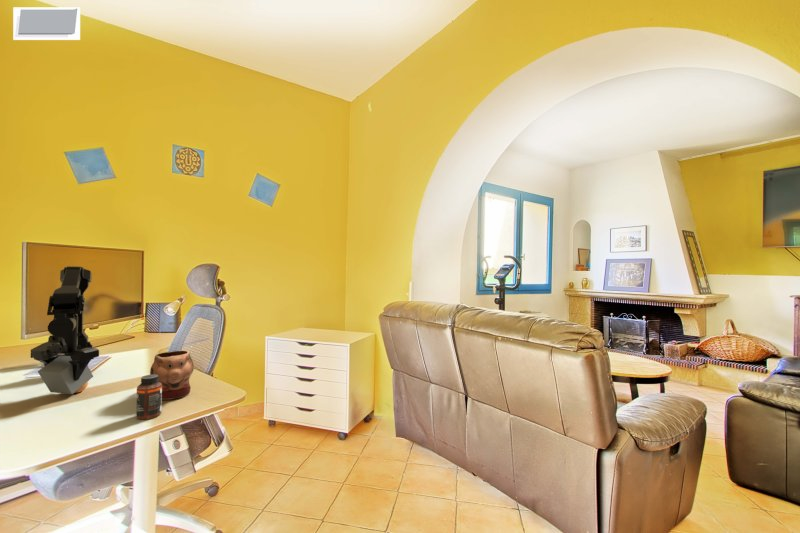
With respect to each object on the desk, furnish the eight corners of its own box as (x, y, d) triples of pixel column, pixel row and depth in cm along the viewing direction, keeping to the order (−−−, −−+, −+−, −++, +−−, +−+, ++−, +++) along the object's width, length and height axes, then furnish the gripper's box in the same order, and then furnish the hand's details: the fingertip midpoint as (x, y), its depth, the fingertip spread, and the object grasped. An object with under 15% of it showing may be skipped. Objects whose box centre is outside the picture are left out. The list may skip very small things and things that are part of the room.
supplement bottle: (166, 412, 105) (167, 373, 104) (150, 421, 99) (151, 380, 99) (147, 410, 105) (148, 372, 105) (130, 419, 99) (131, 378, 99)
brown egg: (78, 374, 121) (78, 389, 121) (63, 379, 116) (63, 394, 116) (92, 375, 120) (91, 389, 120) (77, 379, 115) (77, 395, 115)
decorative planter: (144, 390, 122) (145, 349, 122) (184, 382, 130) (185, 344, 130) (156, 407, 107) (157, 361, 107) (201, 398, 116) (202, 355, 116)
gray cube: (50, 392, 114) (37, 371, 110) (72, 374, 120) (61, 354, 116) (72, 394, 113) (59, 373, 109) (93, 376, 120) (82, 356, 116)
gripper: (10, 334, 107) (9, 386, 107) (65, 337, 105) (64, 390, 105) (50, 328, 118) (49, 374, 118) (101, 330, 116) (100, 378, 116)
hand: (64, 379), depth 114 cm, fingers closed on gray cube, 8 cm apart
